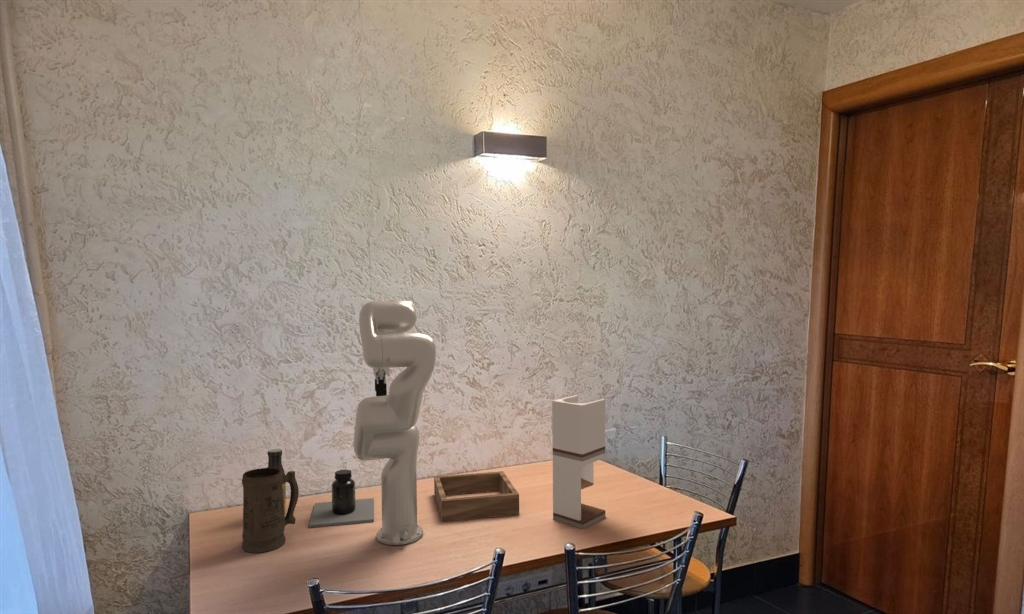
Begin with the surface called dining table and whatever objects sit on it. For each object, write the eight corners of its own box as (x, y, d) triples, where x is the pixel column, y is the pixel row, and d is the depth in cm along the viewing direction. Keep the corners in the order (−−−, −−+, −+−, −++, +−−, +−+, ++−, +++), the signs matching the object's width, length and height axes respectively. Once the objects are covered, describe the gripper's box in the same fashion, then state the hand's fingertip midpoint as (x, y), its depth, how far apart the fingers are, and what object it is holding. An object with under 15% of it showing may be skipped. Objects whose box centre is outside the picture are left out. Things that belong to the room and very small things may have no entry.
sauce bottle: (270, 521, 177) (269, 454, 176) (259, 517, 180) (257, 451, 180) (290, 514, 182) (289, 449, 181) (279, 510, 186) (277, 446, 185)
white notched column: (582, 528, 169) (582, 405, 168) (553, 519, 177) (552, 400, 175) (605, 517, 178) (604, 399, 177) (576, 508, 185) (575, 395, 184)
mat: (373, 521, 176) (373, 519, 176) (309, 527, 172) (309, 525, 172) (373, 500, 193) (373, 498, 193) (315, 505, 189) (315, 503, 189)
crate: (519, 514, 181) (519, 494, 181) (442, 521, 176) (441, 501, 175) (503, 488, 203) (503, 471, 203) (434, 494, 198) (434, 476, 198)
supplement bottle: (345, 505, 187) (345, 467, 187) (360, 509, 183) (359, 470, 183) (327, 512, 182) (326, 472, 181) (341, 516, 178) (341, 476, 177)
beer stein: (255, 557, 153) (259, 478, 153) (230, 548, 159) (233, 472, 159) (305, 540, 166) (308, 467, 166) (280, 531, 172) (283, 461, 172)
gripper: (393, 342, 183) (394, 397, 184) (390, 337, 200) (391, 388, 200) (368, 342, 181) (369, 399, 182) (367, 338, 198) (367, 389, 198)
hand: (380, 393), depth 191 cm, fingers open, 9 cm apart
